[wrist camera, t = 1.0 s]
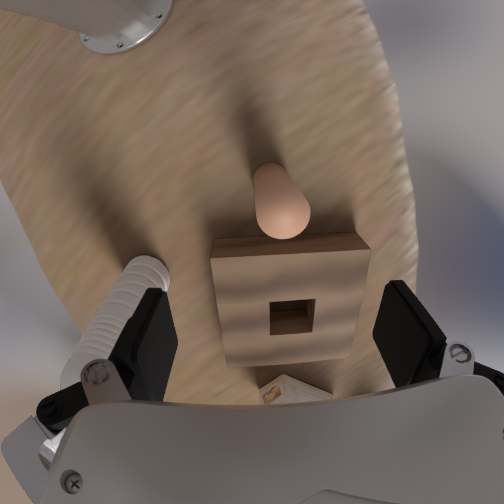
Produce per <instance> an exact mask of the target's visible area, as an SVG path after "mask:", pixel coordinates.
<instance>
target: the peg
mask: <svg viewBox="0 0 504 504" xmlns="http://www.w3.org/2000/svg"><path fill="white" fill-rule="evenodd" d="M253 189H254V198H255V208H256V217H257V222H258V224H259V226H260V228H261V229H262V230H263V231H264V232H265V233H266V234H267V235H269V236H271V237H273V238H277V239H288V238H292V237H294V236H296V235H298V234H299V233H301V232H302V231H303V230H304V229H305V227H306V226H307V224H308V222H309V219H310V206H309V203H308V201H307V199H306V198H305V196H304V195H303V194H302V192H301V191H300V190H299V188H298V187H297V186H296V184H295V183H294V182H293V180H292V179H291V178H290V176H289V175H288V174H287V172H286V171H285V170H284V168H283V167H281V166H280V165H278V164H276V163H265V164H262V165H260V166H259V167H258V168H257V169H256V170H255V172H254V174H253Z"/></svg>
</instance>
